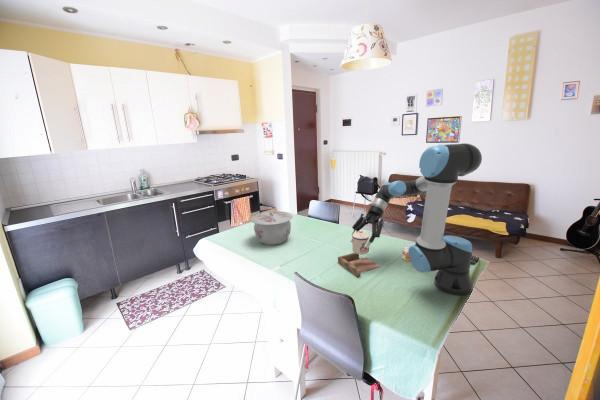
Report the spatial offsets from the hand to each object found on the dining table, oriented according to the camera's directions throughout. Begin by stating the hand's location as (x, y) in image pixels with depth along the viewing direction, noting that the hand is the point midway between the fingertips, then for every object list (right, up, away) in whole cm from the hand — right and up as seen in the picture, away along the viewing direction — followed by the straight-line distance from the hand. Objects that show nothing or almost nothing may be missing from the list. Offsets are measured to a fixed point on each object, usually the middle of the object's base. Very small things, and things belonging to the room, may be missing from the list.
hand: (358, 244), depth 145 cm
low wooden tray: (+2, -12, +4) cm, 13 cm away
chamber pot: (-48, -5, +43) cm, 65 cm away
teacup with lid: (+3, -4, +3) cm, 5 cm away
